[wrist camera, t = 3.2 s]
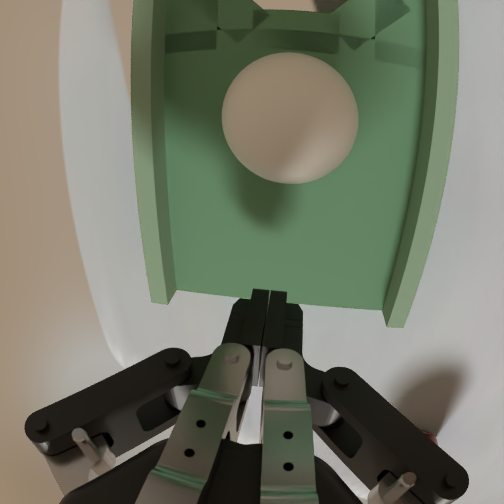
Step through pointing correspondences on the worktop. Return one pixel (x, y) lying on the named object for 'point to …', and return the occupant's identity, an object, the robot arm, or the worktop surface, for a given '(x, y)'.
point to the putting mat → (304, 194)
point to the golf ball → (290, 118)
